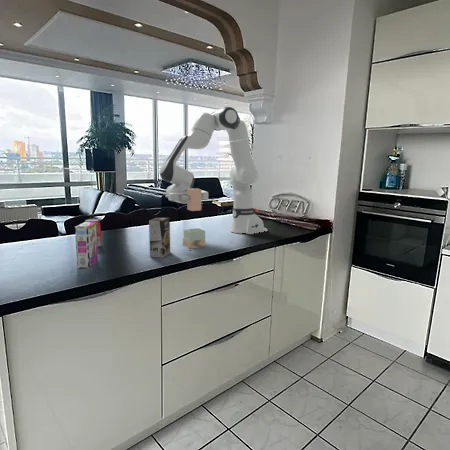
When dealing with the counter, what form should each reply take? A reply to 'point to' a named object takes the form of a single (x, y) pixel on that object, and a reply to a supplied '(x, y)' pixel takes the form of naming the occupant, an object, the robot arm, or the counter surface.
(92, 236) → the candy bar box
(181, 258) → the counter surface
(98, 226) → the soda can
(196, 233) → the sage slab
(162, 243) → the coffee box
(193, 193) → the coral block
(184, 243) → the oak slab
